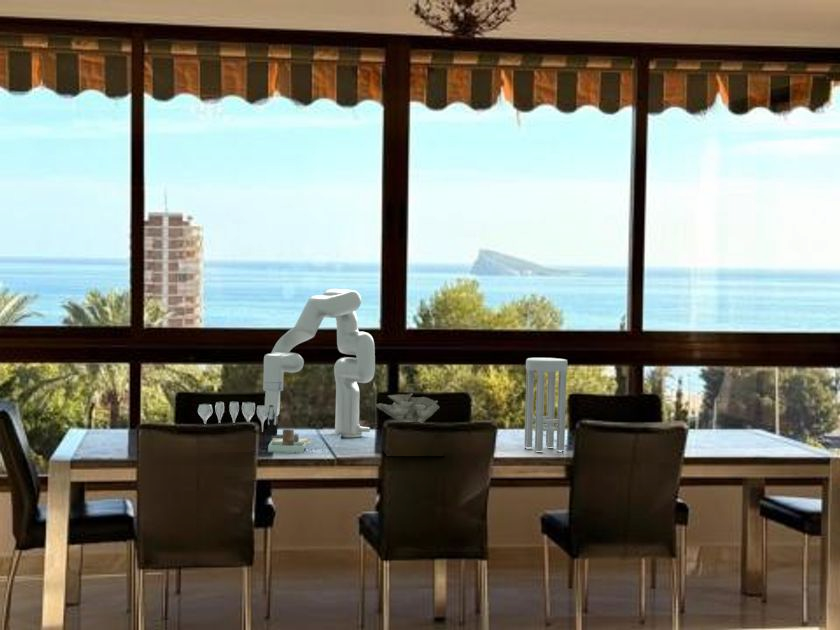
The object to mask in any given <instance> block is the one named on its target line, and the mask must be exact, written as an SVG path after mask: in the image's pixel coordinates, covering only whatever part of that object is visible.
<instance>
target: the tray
mask: <svg viewBox="0 0 840 630" xmlns="http://www.w3.org/2000/svg"><path fill="white" fill-rule="evenodd" d="M270 442H271V443H270ZM270 442H269V443H270V444H268V447H267V453H284V452H293V453H292V454H296V453H297V452H298V453H297V454H304V453H305V452H306V450H307V449H306V446H307V445H306V442H294V444H293V446H286V445H283V442H276V441H272V440H270ZM294 452H296V453H294Z"/></svg>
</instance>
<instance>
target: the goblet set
mask: <svg viewBox="0 0 840 630" xmlns="http://www.w3.org/2000/svg"><path fill="white" fill-rule="evenodd" d="M239 404H240V403H239V401H230V402H229V407H228V408H229V413H230V414H229V415H231V418H232V424H233V423H235V422H236V419H237V416H238V414H239V410H240V405H239ZM212 406H213V405H212V404H210V403H200V404H199V405H198V408H197V413H198V415H199V416H200V418H201V419H202V420H203V423H204V424H206V425H207V420H208V419H209V418H210V417H211V416H212V414H213V411H214V410H213V407H212ZM214 406H215V407H214V409H215V414H216V416H217V420H218V424H219V423H220V424H221V420H222V417H223V416H224V415H223V414H224V413H225V403H224V401H216V402H215V405H214ZM264 409H265V404H264V405H257V407H256V403H255V402H253V401H252V402H251V401H244V402H242V405H241V411H242V414H243V415H242V416H244V419H245V420H246V423H247V422H249V423H250V421H251V420H252V418H253V416H254V415H255V411H256V415H257V418H258V419H259V421H260V423H261V433H263V432H264V423H265V421H266V420H267V419H268V415H267V416H266V417H265V416H264Z"/></svg>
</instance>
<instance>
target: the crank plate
mask: <svg viewBox="0 0 840 630" xmlns="http://www.w3.org/2000/svg"><path fill="white" fill-rule="evenodd" d="M271 441H276V442H283V438H272V440H271ZM271 441H270V442H269V444H270V443H271ZM312 441H313V438H299V442H306V446H309V445H310V444H311V442H312ZM269 444H268V445H269Z"/></svg>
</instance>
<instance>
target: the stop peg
mask: <svg viewBox="0 0 840 630" xmlns="http://www.w3.org/2000/svg"><path fill="white" fill-rule="evenodd" d="M294 433H295V431H294V429H287V428H286V429H282V435H283V445H286V446H294V445H293V444H294Z"/></svg>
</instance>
